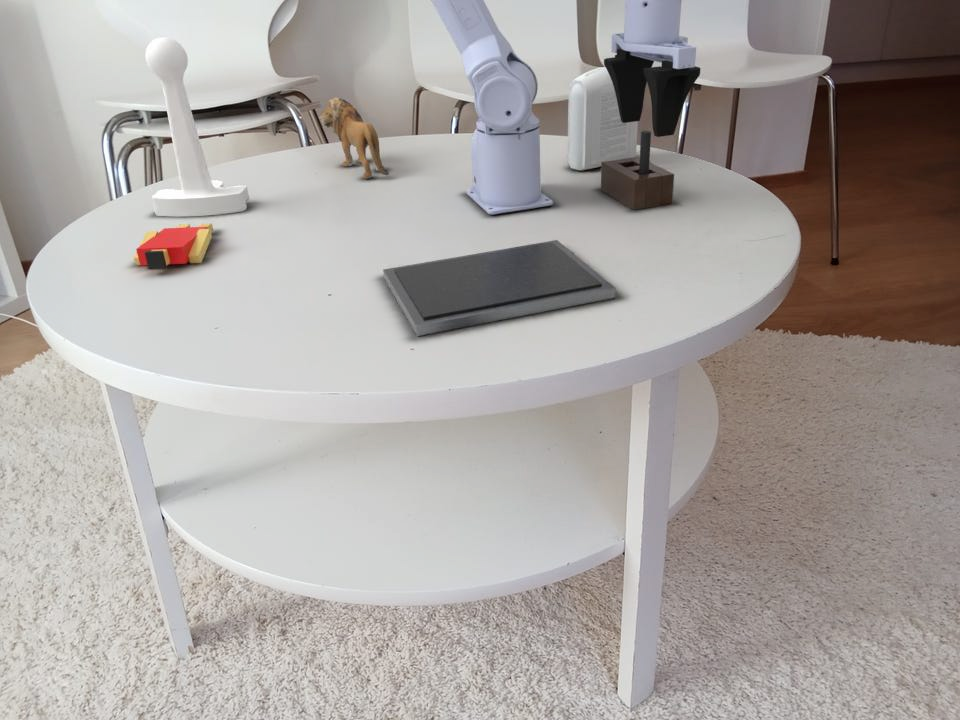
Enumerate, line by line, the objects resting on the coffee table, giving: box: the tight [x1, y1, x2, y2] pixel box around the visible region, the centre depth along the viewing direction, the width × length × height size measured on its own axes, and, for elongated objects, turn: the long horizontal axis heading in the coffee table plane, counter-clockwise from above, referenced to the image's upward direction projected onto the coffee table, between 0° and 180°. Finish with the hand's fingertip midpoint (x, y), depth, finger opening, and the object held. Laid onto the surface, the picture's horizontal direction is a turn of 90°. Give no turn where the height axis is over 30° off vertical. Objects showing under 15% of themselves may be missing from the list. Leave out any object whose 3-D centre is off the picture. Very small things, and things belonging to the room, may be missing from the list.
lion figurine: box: [318, 97, 390, 180], centre depth 107 cm, size 15×5×9 cm, turn 37°
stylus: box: [639, 130, 652, 175], centre depth 89 cm, size 1×1×8 cm
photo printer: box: [567, 66, 639, 171], centre depth 102 cm, size 10×4×12 cm, turn 123°
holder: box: [600, 156, 675, 211], centre depth 91 cm, size 5×8×4 cm, turn 18°
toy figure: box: [133, 222, 214, 270], centre depth 83 cm, size 2×7×12 cm
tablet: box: [382, 239, 616, 337], centre depth 71 cm, size 13×18×1 cm
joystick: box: [144, 36, 251, 218], centre depth 93 cm, size 11×8×20 cm
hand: (646, 128), depth 87 cm, fingers open, 7 cm apart
